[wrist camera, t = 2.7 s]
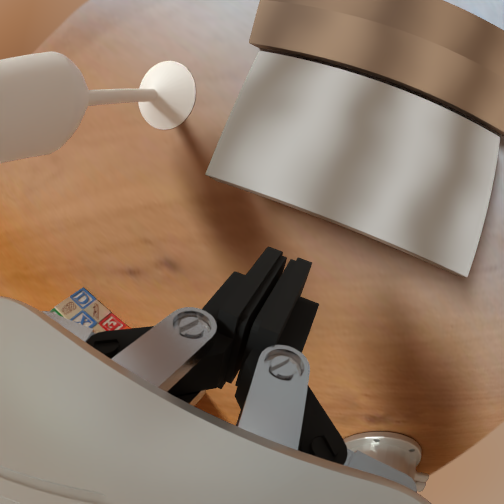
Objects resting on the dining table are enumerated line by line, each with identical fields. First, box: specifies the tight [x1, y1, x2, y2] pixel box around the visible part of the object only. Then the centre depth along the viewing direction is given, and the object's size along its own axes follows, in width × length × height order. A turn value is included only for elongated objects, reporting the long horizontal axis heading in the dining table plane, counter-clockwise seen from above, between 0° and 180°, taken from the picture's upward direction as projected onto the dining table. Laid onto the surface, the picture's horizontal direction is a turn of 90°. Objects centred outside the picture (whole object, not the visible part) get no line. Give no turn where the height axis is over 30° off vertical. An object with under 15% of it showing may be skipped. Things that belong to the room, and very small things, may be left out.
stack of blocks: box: [49, 288, 131, 333], centre depth 38 cm, size 21×6×12 cm, turn 64°
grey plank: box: [205, 51, 500, 277], centre depth 19 cm, size 18×10×2 cm, turn 77°
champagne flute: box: [0, 52, 196, 163], centre depth 15 cm, size 7×7×24 cm
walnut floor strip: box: [249, 0, 504, 136], centre depth 16 cm, size 20×8×2 cm, turn 77°
